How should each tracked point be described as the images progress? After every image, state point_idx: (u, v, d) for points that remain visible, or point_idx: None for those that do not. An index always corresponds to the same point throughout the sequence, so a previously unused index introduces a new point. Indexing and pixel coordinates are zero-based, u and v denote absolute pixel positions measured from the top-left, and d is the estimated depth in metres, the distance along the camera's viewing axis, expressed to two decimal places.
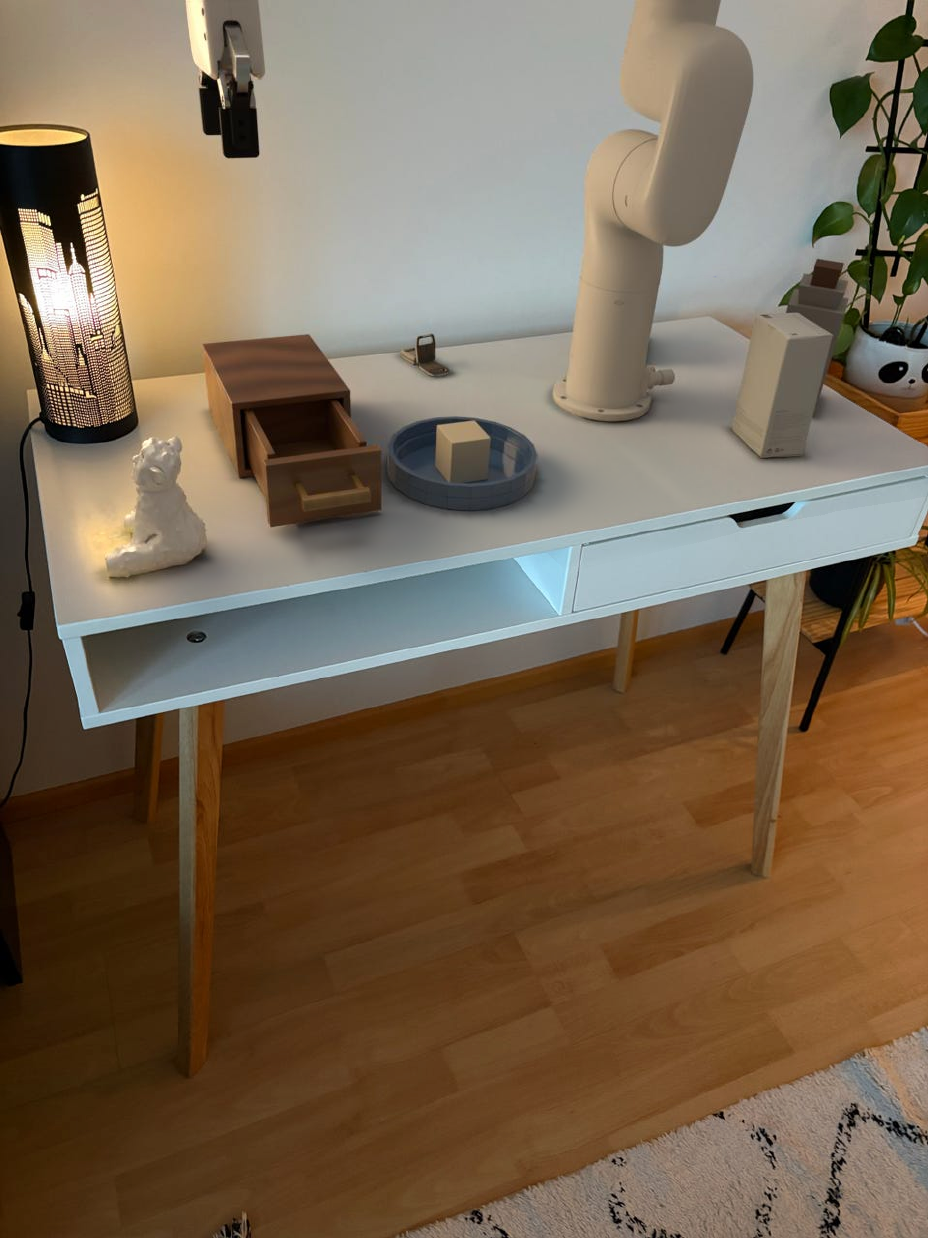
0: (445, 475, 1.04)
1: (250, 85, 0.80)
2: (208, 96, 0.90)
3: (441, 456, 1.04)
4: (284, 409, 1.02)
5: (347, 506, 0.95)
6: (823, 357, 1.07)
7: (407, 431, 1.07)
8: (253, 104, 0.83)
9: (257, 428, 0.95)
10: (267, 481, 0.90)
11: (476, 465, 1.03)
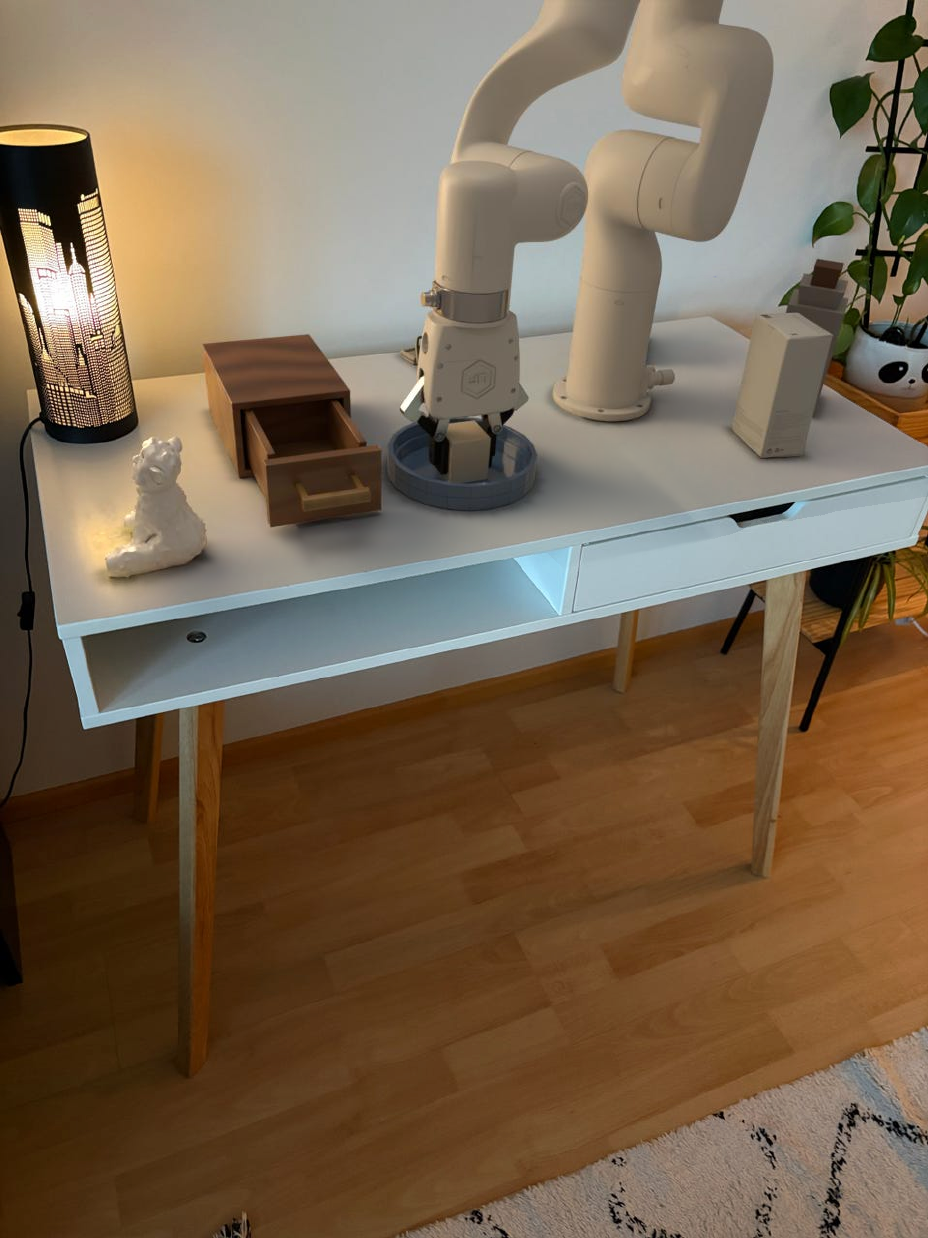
0: (445, 475, 1.04)
1: (419, 423, 0.99)
2: None
3: None
4: (284, 409, 1.02)
5: (347, 506, 0.95)
6: (823, 357, 1.07)
7: (407, 431, 1.07)
8: (435, 439, 1.00)
9: (257, 428, 0.95)
10: (267, 481, 0.90)
11: (476, 465, 1.03)
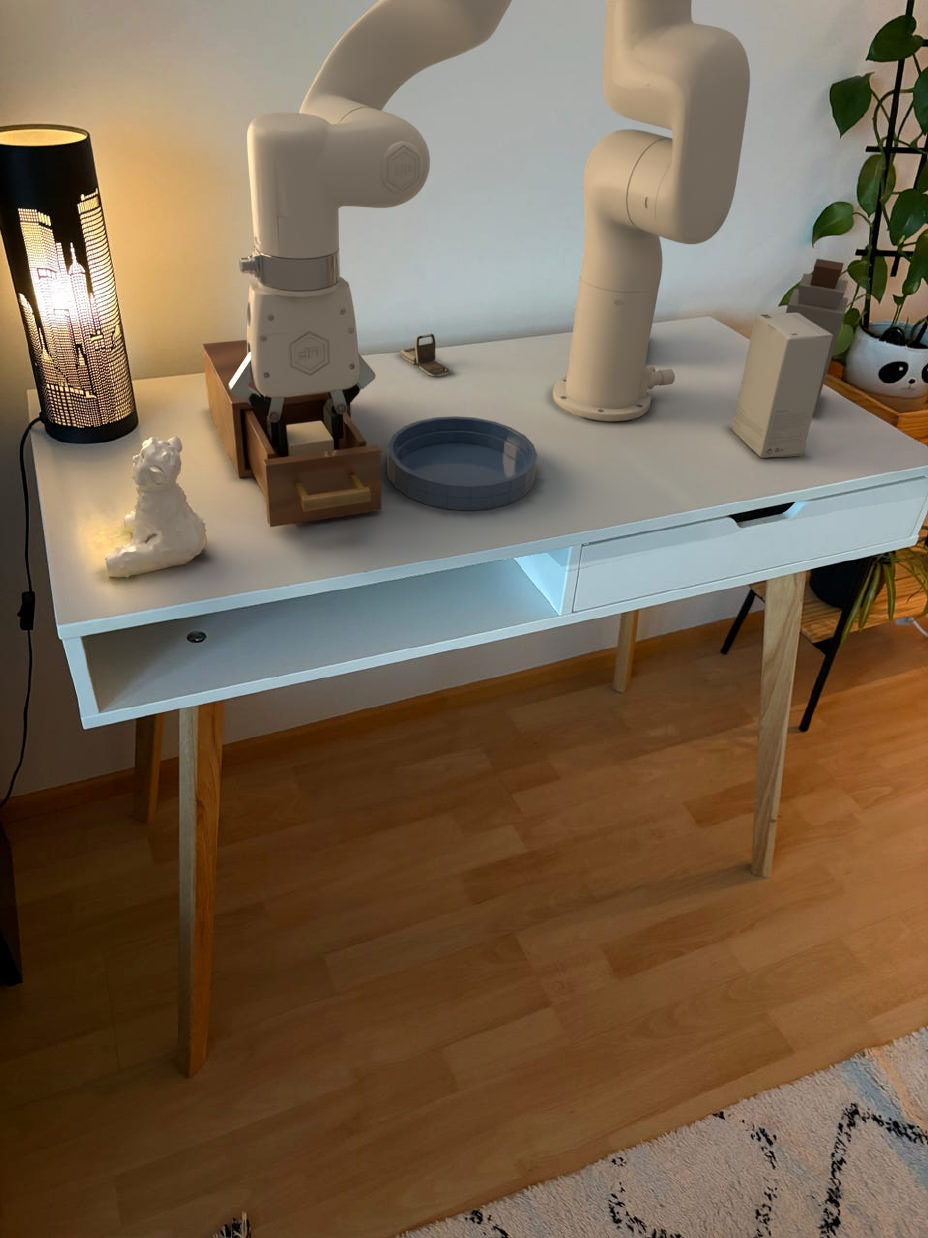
0: None
1: (250, 401, 0.92)
2: (324, 412, 0.97)
3: None
4: (284, 409, 1.02)
5: (347, 506, 0.95)
6: (823, 357, 1.07)
7: (407, 431, 1.07)
8: (269, 420, 0.93)
9: (257, 428, 0.95)
10: (267, 481, 0.90)
11: None
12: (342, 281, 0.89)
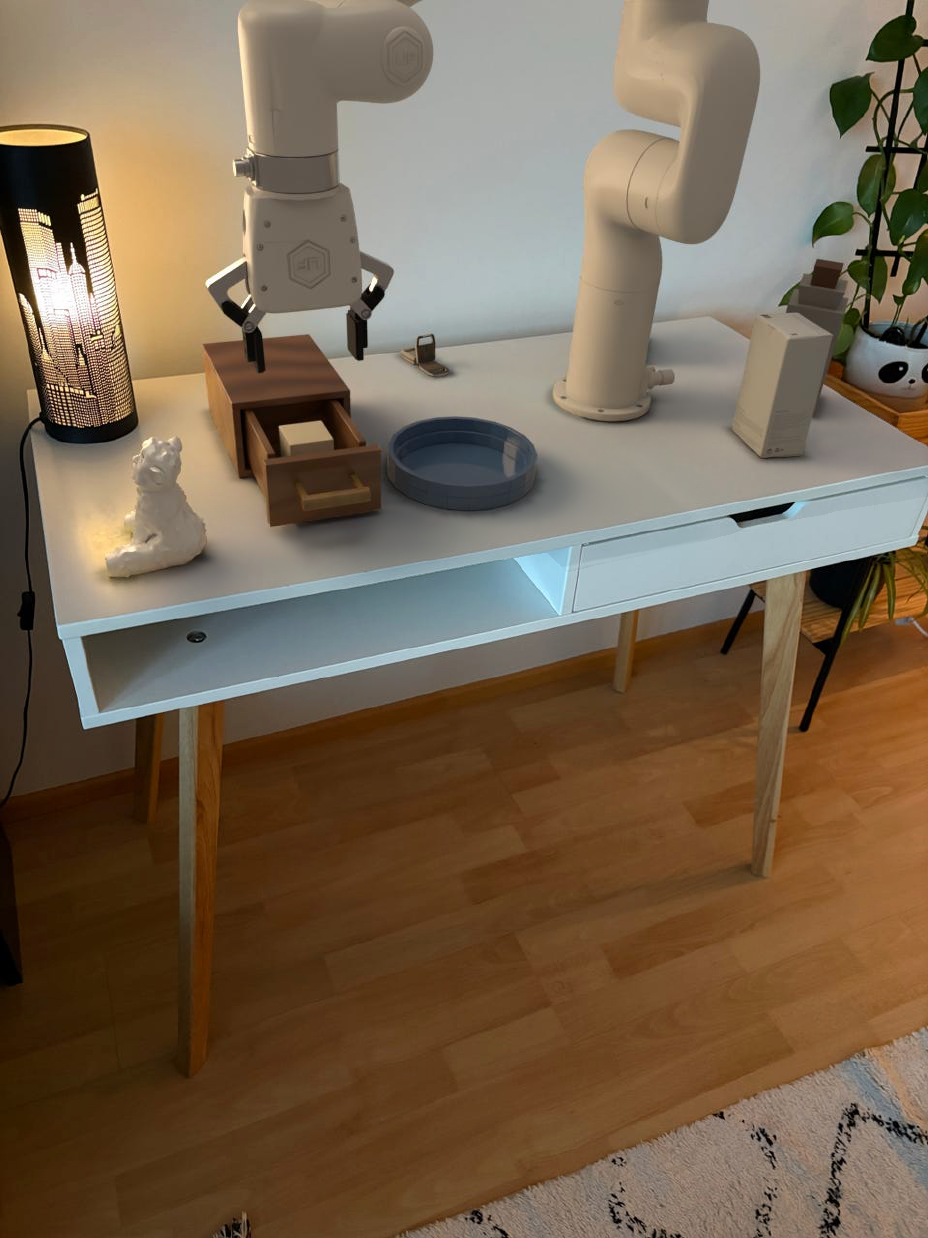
0: None
1: (222, 309, 0.85)
2: (348, 319, 0.92)
3: None
4: (284, 409, 1.02)
5: (347, 506, 0.95)
6: (823, 357, 1.07)
7: (407, 431, 1.07)
8: (242, 328, 0.87)
9: (257, 427, 0.96)
10: (267, 481, 0.90)
11: None
12: (342, 186, 0.83)
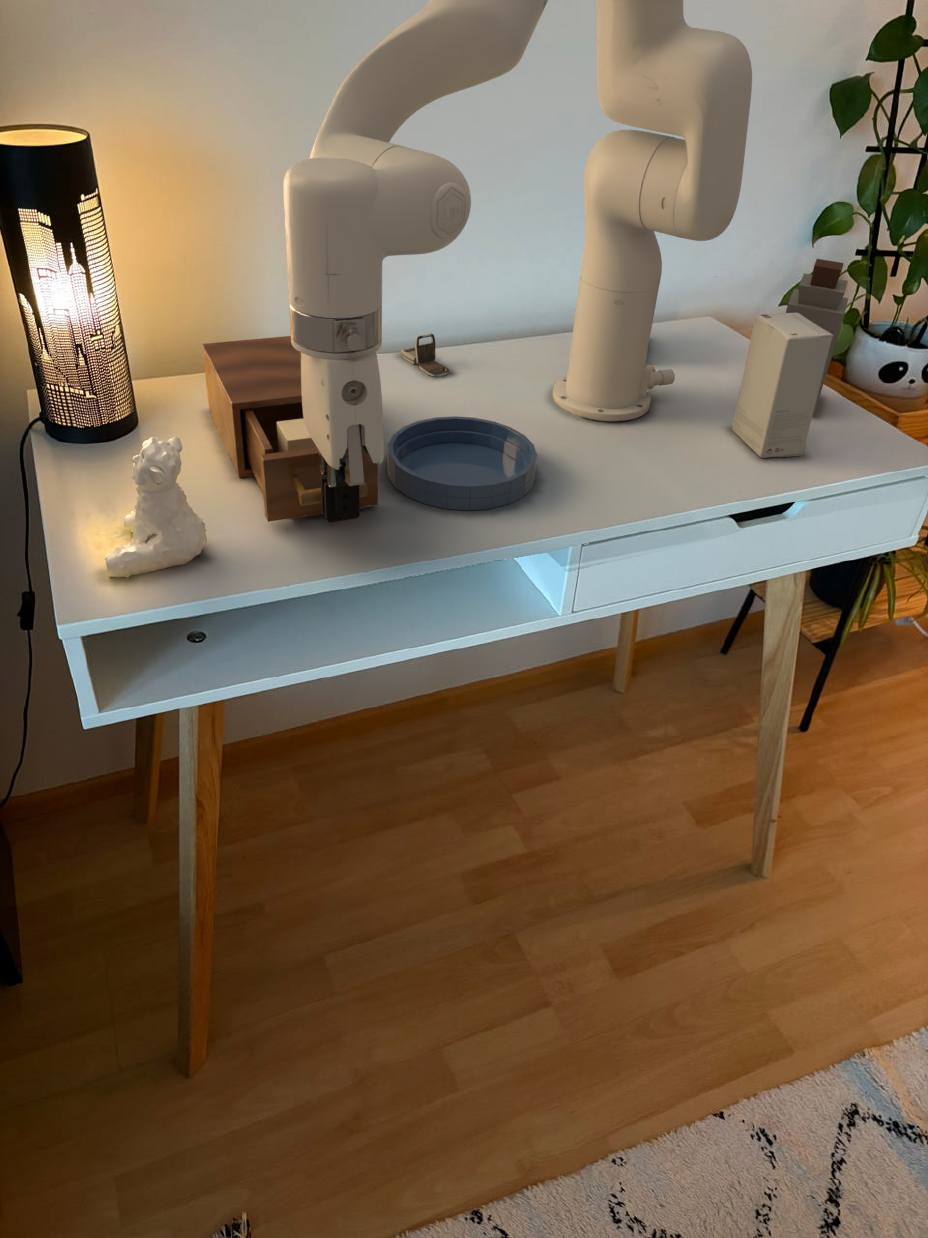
0: None
1: None
2: None
3: None
4: (281, 405, 1.03)
5: None
6: (823, 357, 1.07)
7: (407, 431, 1.07)
8: None
9: (255, 423, 0.96)
10: (264, 476, 0.91)
11: None
12: None
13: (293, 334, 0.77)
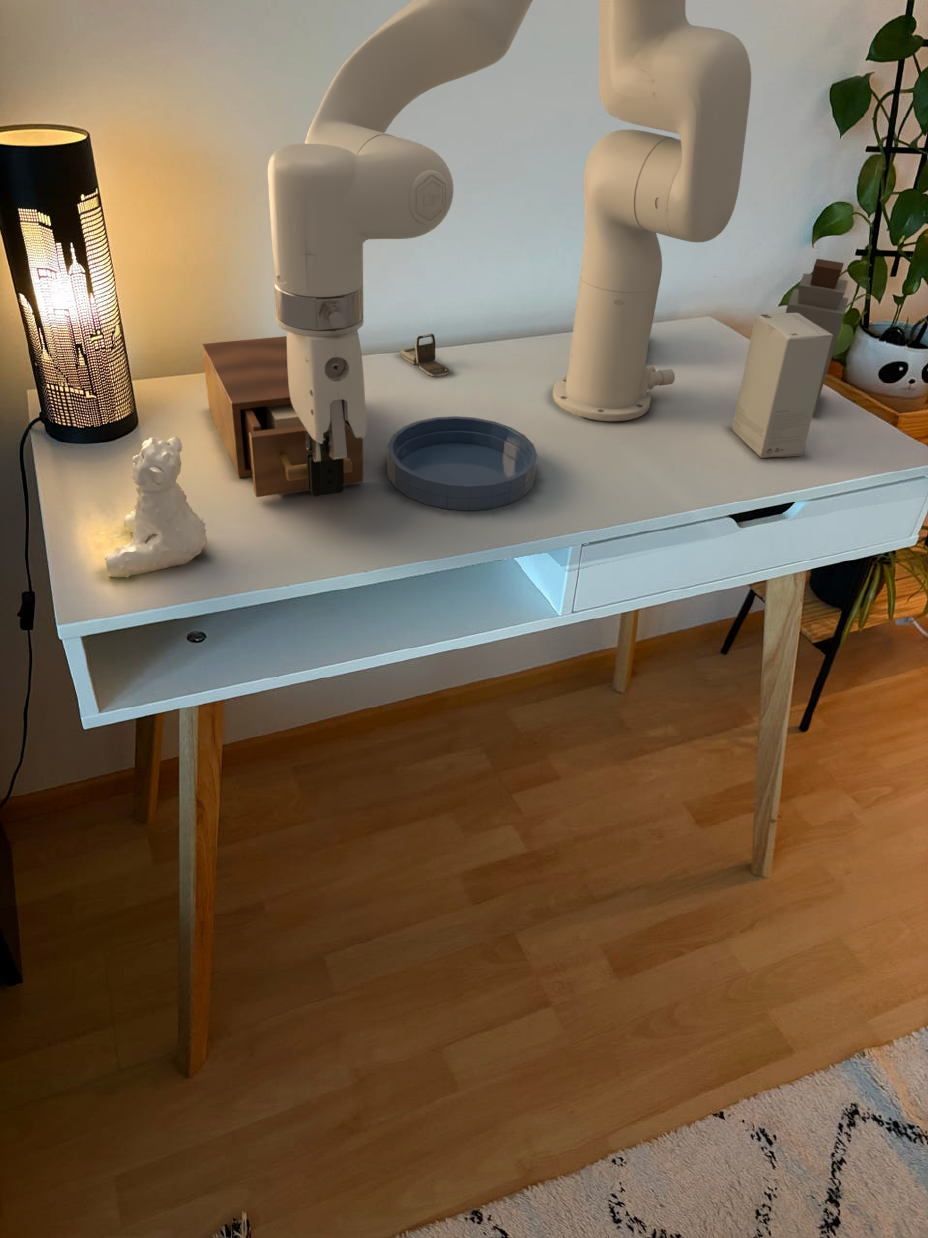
0: None
1: None
2: None
3: None
4: None
5: None
6: (823, 357, 1.07)
7: (407, 431, 1.07)
8: None
9: None
10: (253, 452, 0.95)
11: None
12: None
13: (278, 313, 0.81)
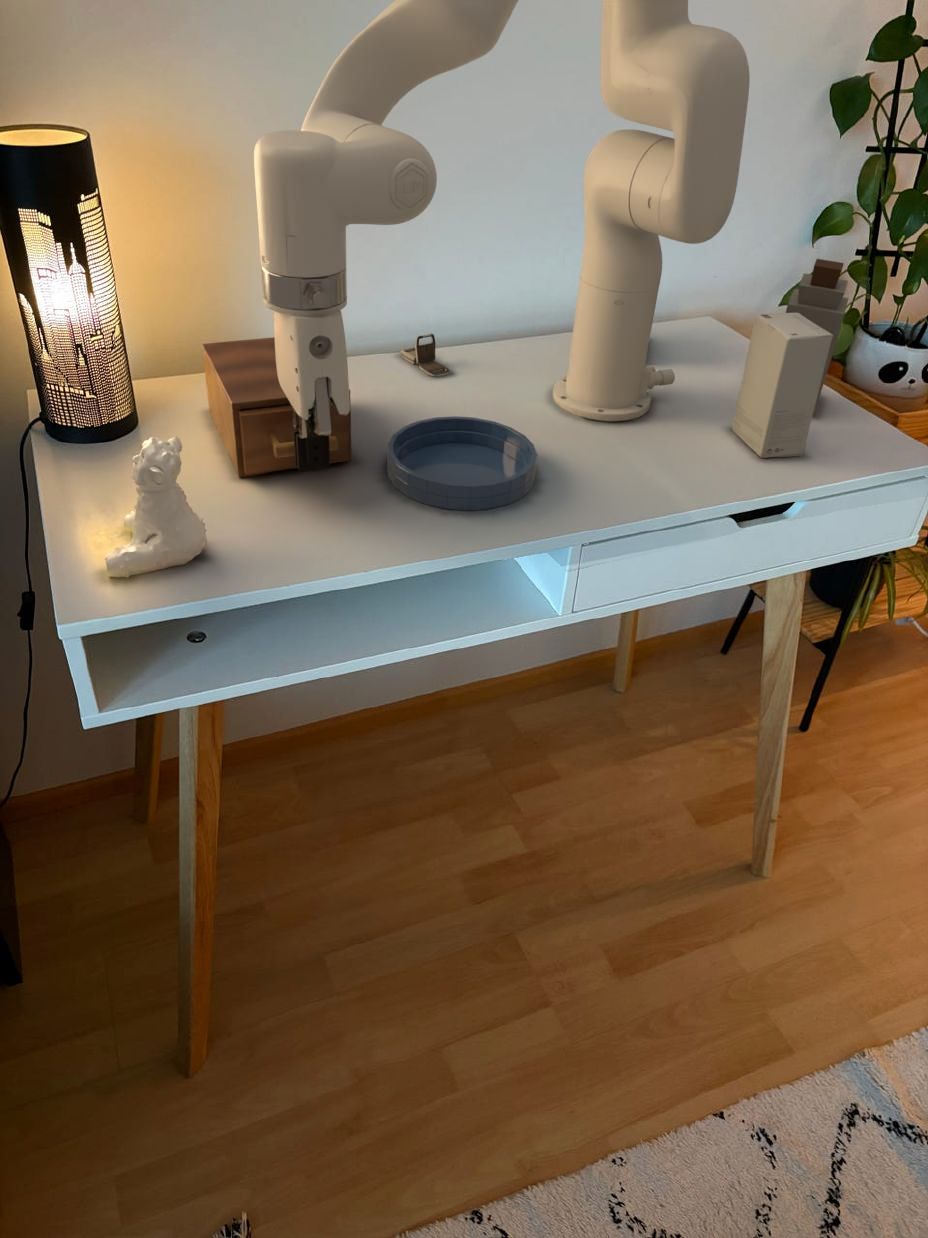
0: None
1: None
2: None
3: None
4: None
5: None
6: (823, 357, 1.07)
7: (407, 431, 1.07)
8: (325, 435, 0.94)
9: None
10: (242, 431, 0.98)
11: None
12: None
13: (265, 293, 0.84)
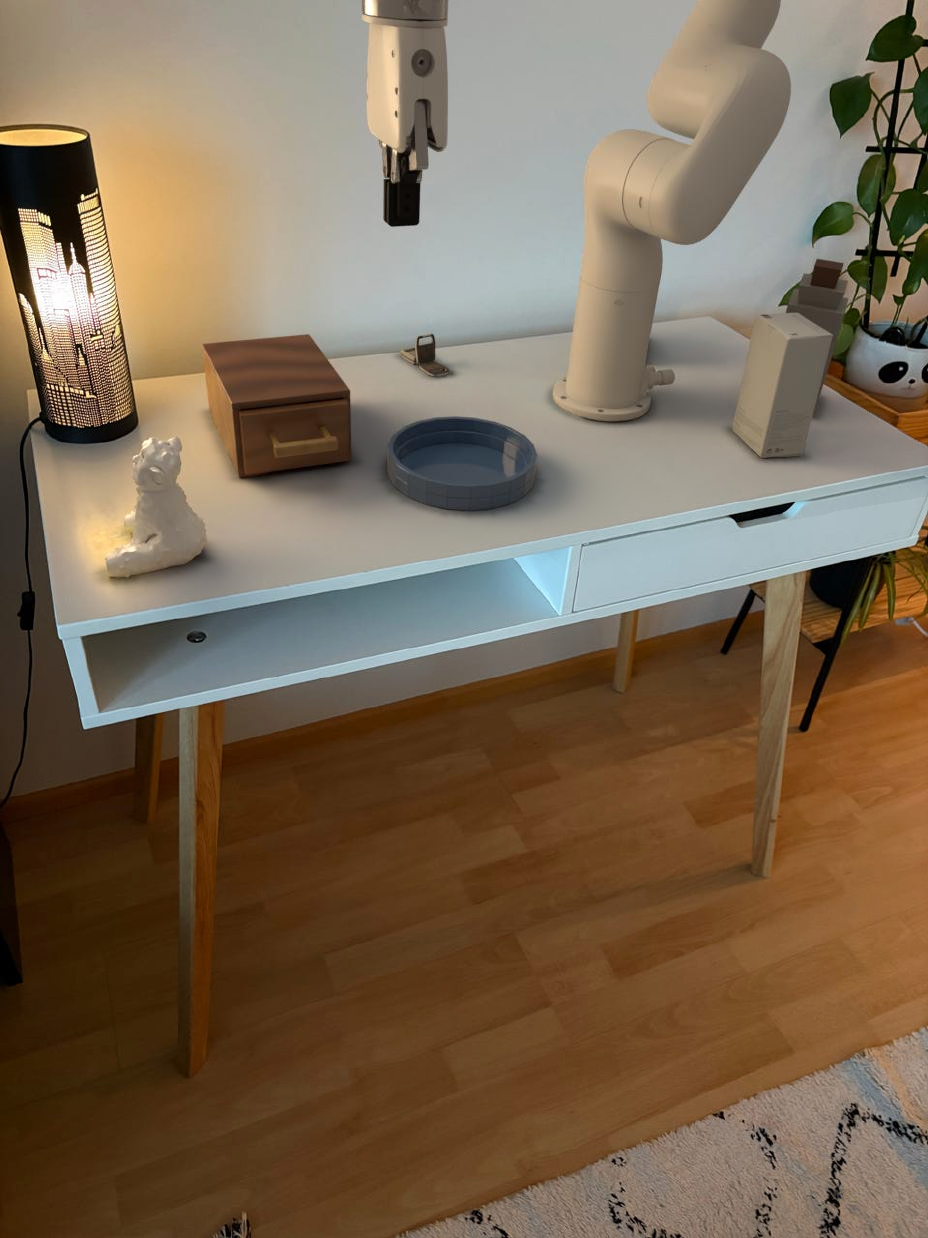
0: None
1: None
2: None
3: None
4: None
5: (317, 456, 1.03)
6: (823, 357, 1.07)
7: (407, 431, 1.07)
8: (417, 182, 0.91)
9: None
10: (242, 431, 0.98)
11: None
12: None
13: (365, 6, 0.82)
